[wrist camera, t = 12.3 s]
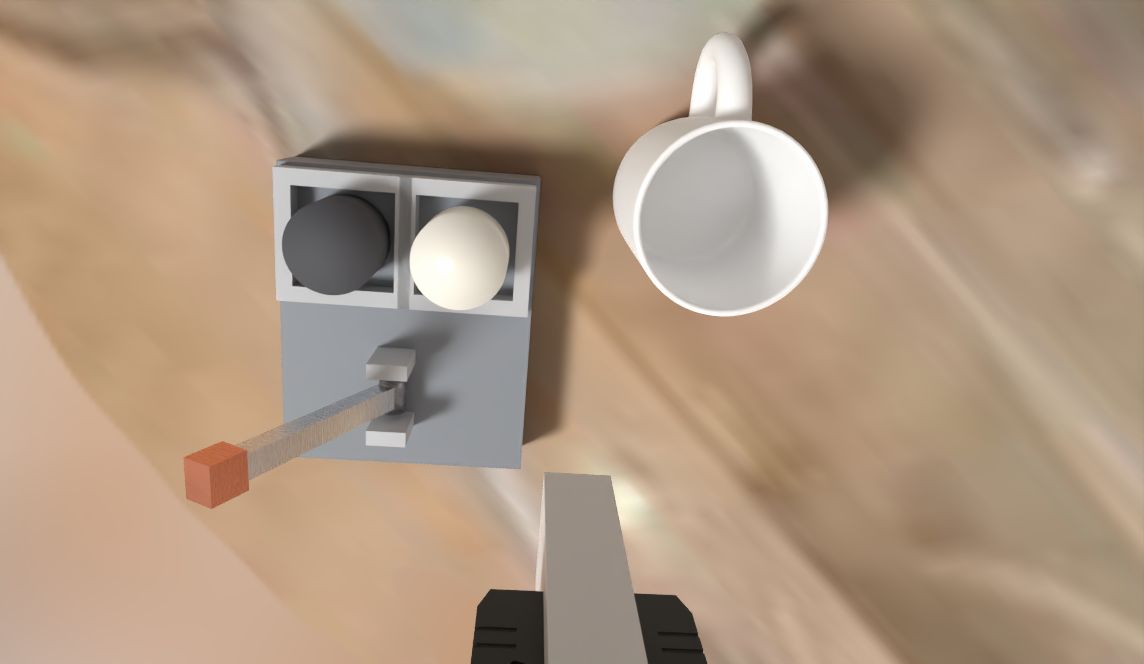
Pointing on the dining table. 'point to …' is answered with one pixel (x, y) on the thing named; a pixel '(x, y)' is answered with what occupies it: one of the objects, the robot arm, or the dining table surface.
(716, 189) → the mug
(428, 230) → the button ivory
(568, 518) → the robot arm
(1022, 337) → the dining table surface
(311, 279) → the button black
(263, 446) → the lever
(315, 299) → the panel
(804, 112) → the dining table surface
